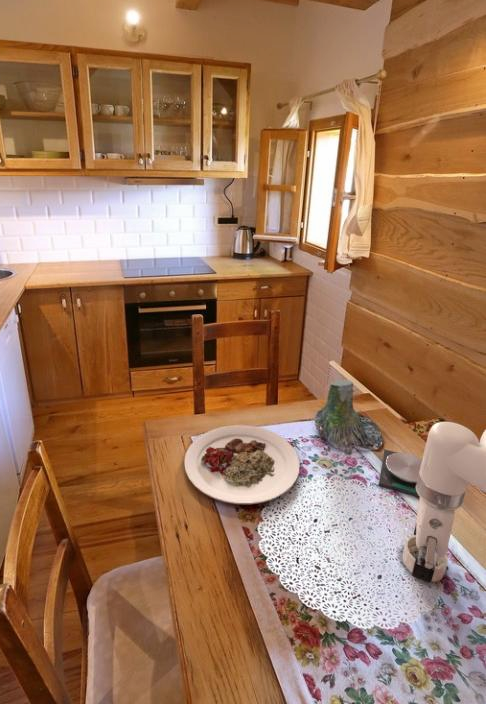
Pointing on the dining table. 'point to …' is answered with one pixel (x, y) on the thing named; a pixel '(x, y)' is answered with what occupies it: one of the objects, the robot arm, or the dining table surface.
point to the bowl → (411, 547)
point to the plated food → (241, 464)
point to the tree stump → (346, 421)
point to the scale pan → (404, 466)
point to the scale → (395, 479)
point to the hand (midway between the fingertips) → (421, 556)
